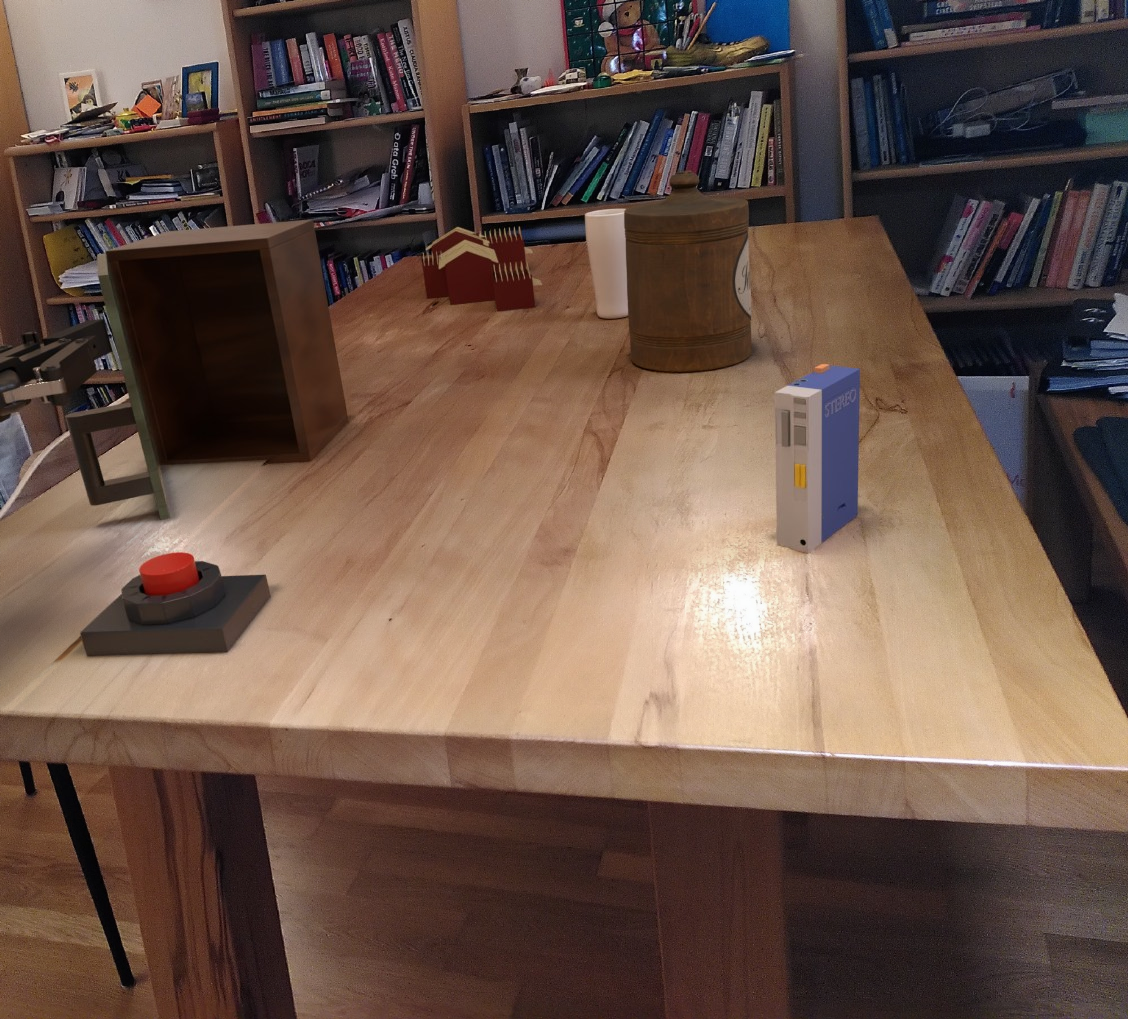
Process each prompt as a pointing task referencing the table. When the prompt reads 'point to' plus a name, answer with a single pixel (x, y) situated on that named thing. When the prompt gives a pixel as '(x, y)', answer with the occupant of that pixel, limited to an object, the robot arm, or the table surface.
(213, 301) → the cupboard
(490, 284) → the toy houses
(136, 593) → the button block
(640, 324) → the wooden container
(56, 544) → the table surface
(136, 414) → the cupboard door
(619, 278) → the drinking glass
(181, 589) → the red button
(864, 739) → the table surface
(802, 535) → the walkman
